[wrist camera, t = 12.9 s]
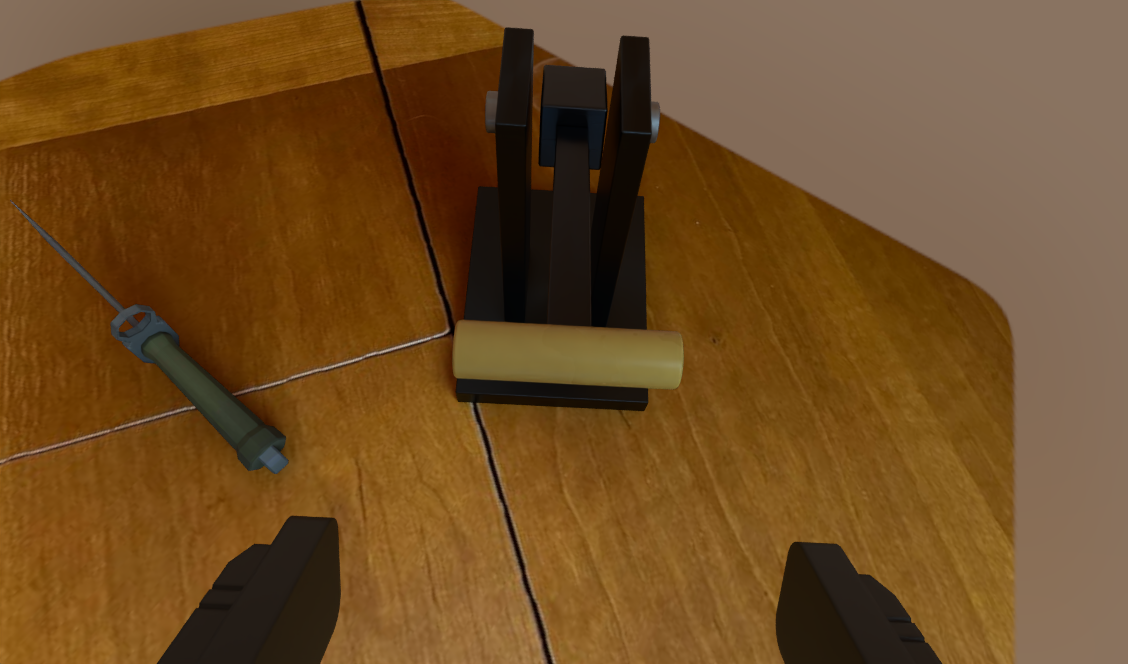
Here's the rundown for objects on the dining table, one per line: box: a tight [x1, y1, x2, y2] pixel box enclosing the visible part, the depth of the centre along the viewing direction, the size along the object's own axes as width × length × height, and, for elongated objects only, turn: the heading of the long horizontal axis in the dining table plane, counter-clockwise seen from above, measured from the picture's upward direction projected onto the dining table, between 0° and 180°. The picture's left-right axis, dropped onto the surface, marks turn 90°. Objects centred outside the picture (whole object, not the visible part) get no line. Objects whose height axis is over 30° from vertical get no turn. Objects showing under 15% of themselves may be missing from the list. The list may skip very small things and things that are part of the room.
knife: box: [10, 200, 288, 474], centre depth 31 cm, size 19×2×5 cm, turn 49°
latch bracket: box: [456, 28, 660, 411], centre depth 30 cm, size 12×9×15 cm
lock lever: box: [452, 65, 684, 389], centre depth 21 cm, size 13×6×2 cm, turn 178°
